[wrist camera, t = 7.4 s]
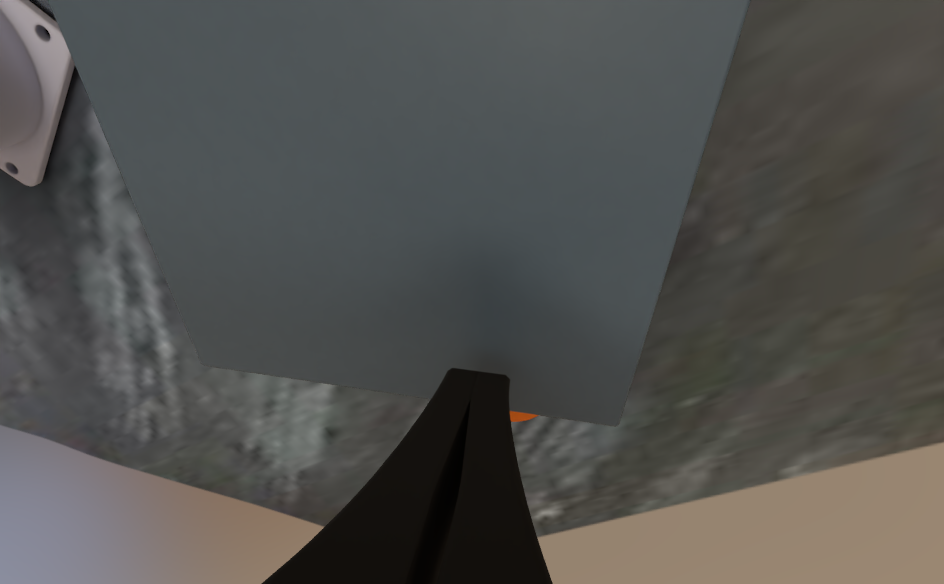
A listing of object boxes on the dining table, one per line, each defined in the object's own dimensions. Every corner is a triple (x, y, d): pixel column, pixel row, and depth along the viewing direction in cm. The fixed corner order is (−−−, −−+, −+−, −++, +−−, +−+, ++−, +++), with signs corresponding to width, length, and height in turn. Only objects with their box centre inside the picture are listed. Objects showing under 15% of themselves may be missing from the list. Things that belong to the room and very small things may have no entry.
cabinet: (230, -221, 13) (-113, -373, 6) (711, -225, 11) (884, -424, 5) (315, 232, 21) (200, 366, 15) (604, 264, 20) (618, 428, 13)
